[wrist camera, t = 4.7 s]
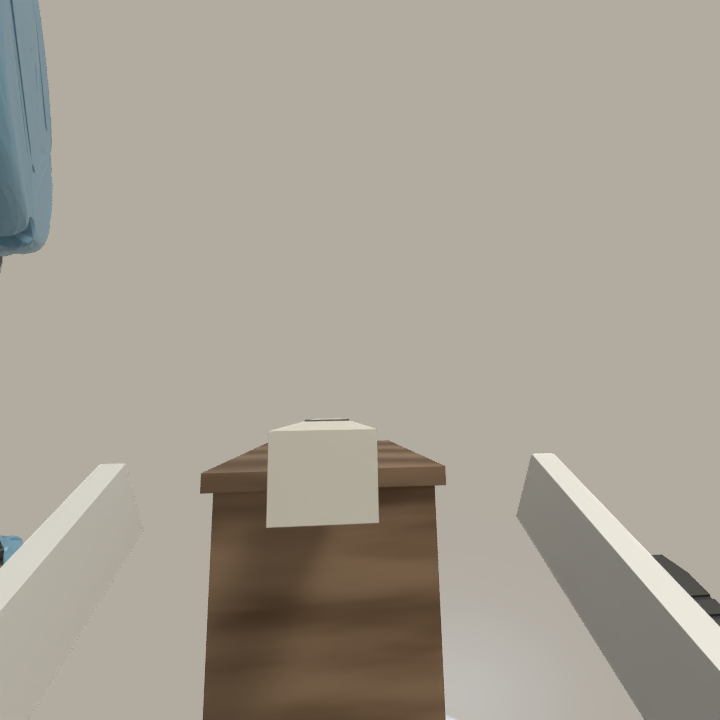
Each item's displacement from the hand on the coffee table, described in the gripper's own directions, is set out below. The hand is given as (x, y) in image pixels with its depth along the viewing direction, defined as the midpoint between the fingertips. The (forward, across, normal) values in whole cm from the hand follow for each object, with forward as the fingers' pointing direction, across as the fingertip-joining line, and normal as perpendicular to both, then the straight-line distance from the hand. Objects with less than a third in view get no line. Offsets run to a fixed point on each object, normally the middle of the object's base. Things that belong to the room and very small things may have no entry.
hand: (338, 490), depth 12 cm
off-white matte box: (+9, 0, -6) cm, 11 cm away
